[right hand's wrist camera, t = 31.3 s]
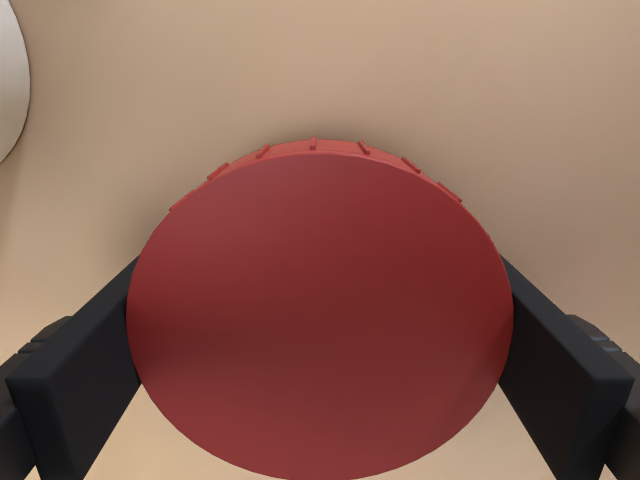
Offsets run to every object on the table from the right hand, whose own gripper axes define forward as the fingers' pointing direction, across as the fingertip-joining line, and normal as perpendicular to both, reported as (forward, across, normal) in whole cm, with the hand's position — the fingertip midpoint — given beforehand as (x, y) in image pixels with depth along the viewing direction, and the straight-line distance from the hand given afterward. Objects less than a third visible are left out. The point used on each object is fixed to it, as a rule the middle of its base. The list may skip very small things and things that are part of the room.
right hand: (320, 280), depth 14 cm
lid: (-3, 0, 0) cm, 3 cm away
